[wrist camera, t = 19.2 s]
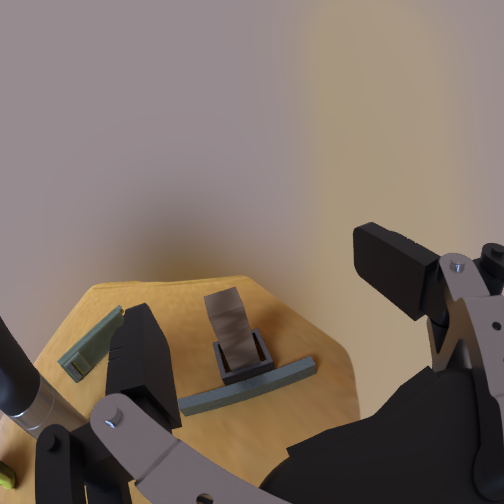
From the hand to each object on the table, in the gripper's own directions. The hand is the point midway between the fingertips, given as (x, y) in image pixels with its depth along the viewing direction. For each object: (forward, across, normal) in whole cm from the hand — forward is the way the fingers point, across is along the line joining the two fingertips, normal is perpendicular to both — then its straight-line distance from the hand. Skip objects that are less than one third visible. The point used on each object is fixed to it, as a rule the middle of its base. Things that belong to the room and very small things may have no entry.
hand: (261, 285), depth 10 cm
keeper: (+23, +2, +32) cm, 39 cm away
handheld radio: (+40, +29, +32) cm, 59 cm away
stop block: (+24, +1, +32) cm, 40 cm away
